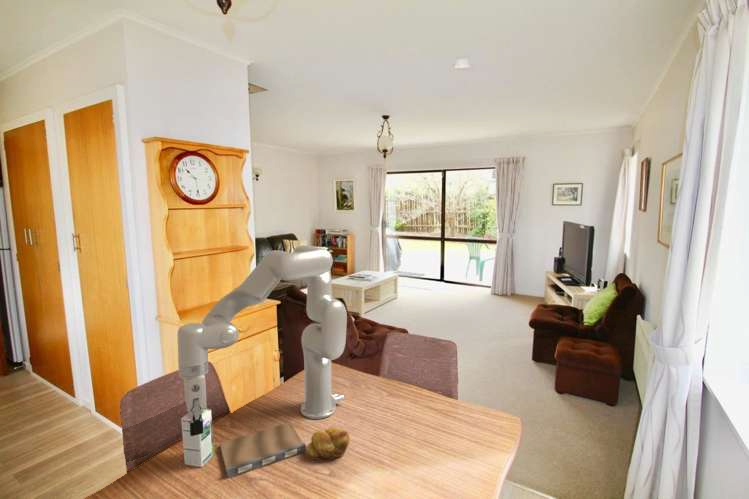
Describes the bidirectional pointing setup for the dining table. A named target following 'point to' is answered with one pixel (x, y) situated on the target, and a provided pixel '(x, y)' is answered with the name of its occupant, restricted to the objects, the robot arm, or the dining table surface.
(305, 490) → the dining table surface
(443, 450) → the dining table surface
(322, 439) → the bread roll
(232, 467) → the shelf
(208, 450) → the syrup box
